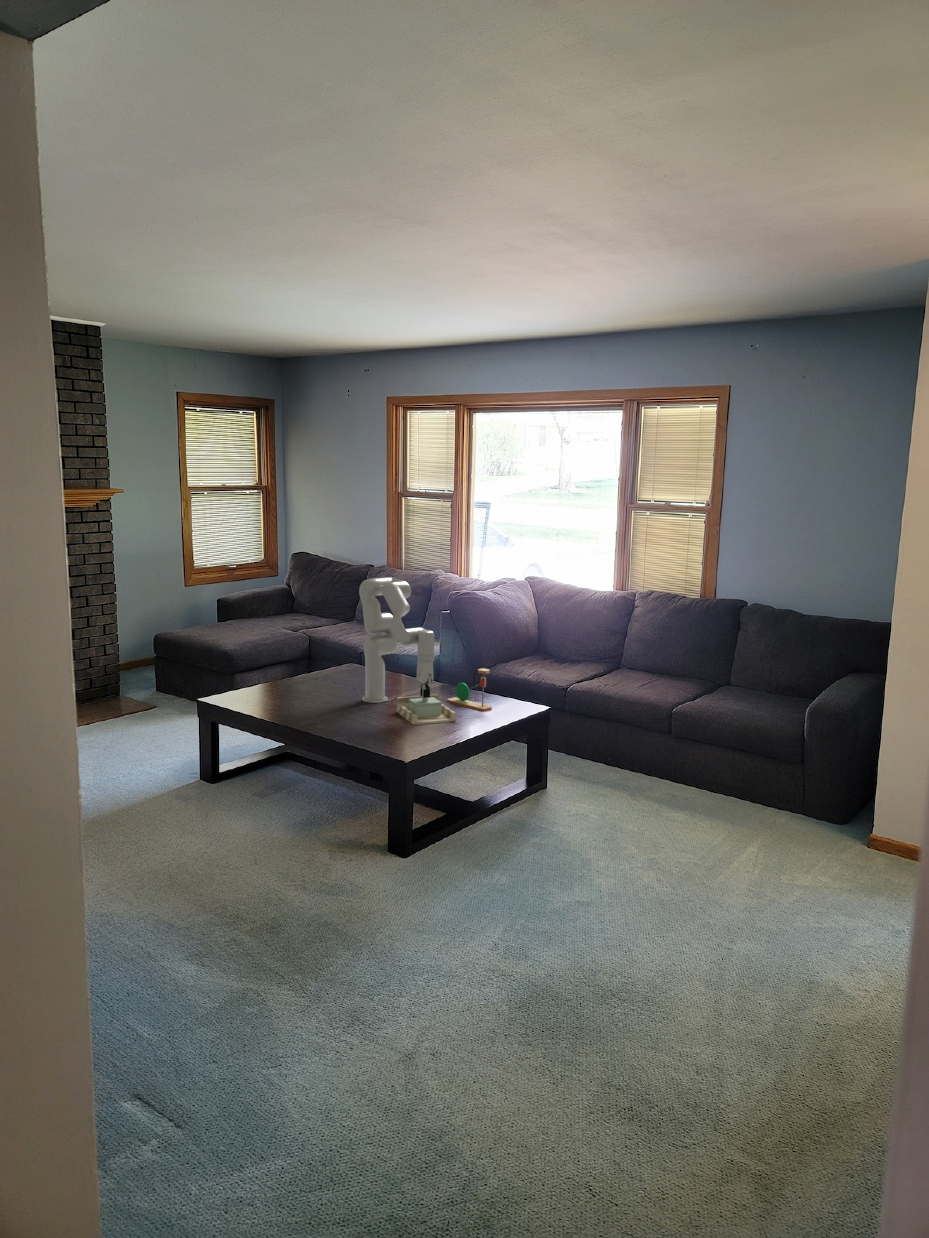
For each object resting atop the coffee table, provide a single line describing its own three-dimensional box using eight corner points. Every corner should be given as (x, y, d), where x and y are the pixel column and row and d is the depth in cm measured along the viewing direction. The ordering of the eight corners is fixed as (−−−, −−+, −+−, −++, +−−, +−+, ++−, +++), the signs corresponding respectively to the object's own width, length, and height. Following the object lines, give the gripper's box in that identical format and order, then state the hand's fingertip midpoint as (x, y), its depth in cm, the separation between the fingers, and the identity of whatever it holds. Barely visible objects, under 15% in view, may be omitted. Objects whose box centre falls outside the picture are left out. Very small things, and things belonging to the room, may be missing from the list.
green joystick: (408, 711, 407) (409, 676, 404) (433, 709, 412) (433, 674, 409) (416, 717, 398) (416, 681, 395) (441, 714, 402) (442, 679, 400)
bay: (397, 712, 410) (397, 697, 409) (437, 708, 418) (437, 694, 417) (413, 725, 389) (414, 709, 388) (455, 721, 397) (455, 706, 396)
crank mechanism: (493, 709, 419) (494, 670, 416) (483, 711, 414) (484, 672, 411) (455, 699, 436) (456, 661, 433) (445, 701, 431) (446, 663, 428)
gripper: (411, 654, 406) (411, 693, 409) (424, 661, 392) (423, 701, 394) (427, 653, 409) (426, 692, 412) (440, 660, 395) (439, 700, 397)
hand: (425, 696), depth 403 cm, fingers closed on green joystick, 2 cm apart
